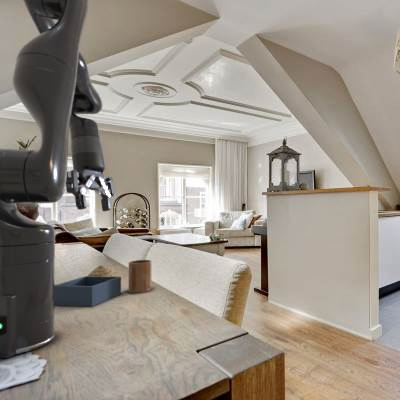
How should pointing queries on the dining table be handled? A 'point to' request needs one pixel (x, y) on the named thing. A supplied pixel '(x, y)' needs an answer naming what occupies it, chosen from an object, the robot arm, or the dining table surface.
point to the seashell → (102, 272)
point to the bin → (86, 291)
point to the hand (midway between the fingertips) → (95, 209)
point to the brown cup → (139, 276)
